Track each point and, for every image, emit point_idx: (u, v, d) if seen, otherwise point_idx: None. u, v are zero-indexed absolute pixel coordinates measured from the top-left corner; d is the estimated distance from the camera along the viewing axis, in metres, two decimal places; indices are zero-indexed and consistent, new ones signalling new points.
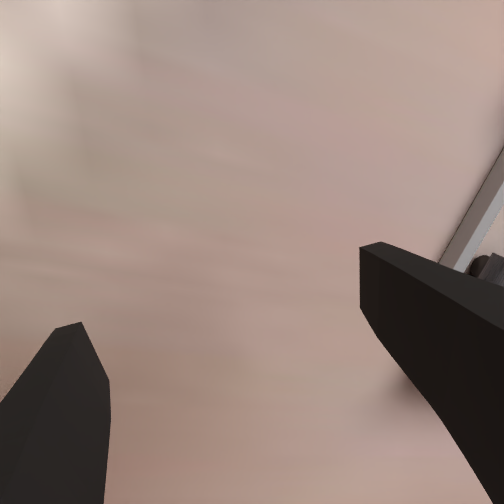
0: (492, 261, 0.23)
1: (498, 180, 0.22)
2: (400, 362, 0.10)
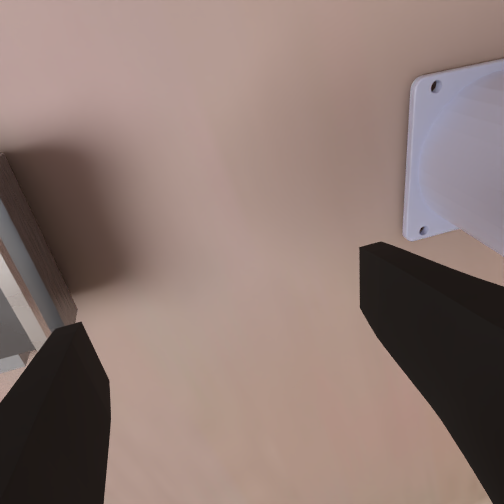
0: None
1: None
2: (400, 362, 0.10)
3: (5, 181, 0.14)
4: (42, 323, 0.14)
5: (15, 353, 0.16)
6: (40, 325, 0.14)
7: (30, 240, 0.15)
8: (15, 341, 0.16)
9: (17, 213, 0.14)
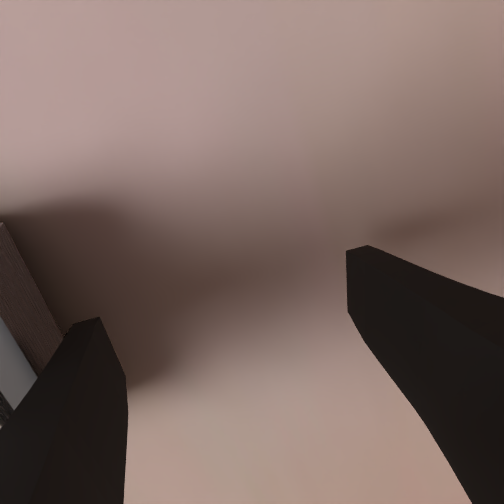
0: None
1: None
2: (386, 367, 0.10)
3: (5, 272, 0.08)
4: None
5: None
6: None
7: (46, 360, 0.09)
8: None
9: (25, 322, 0.09)
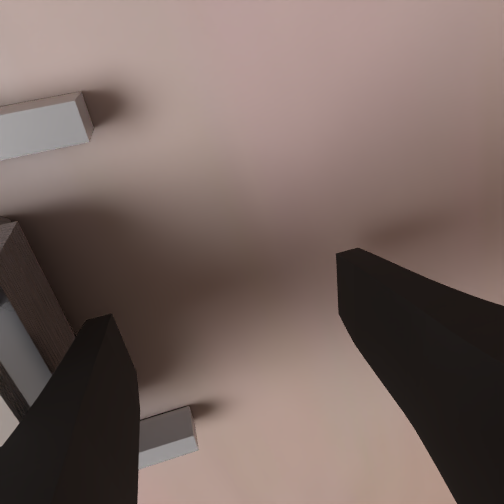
0: None
1: None
2: (376, 370, 0.10)
3: (21, 271, 0.08)
4: None
5: None
6: None
7: (59, 357, 0.09)
8: None
9: (40, 321, 0.09)
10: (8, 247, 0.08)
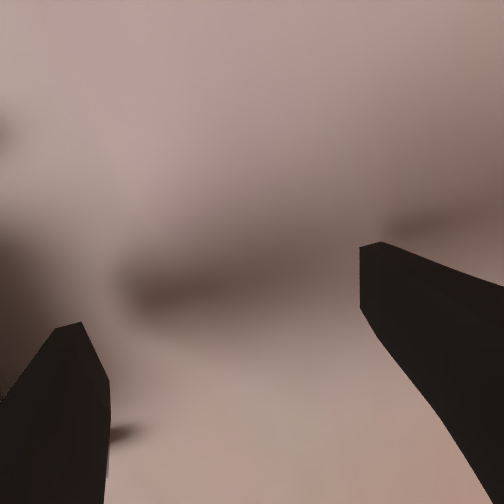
0: None
1: None
2: (400, 363, 0.10)
3: None
4: None
5: None
6: None
7: None
8: None
9: None
10: None
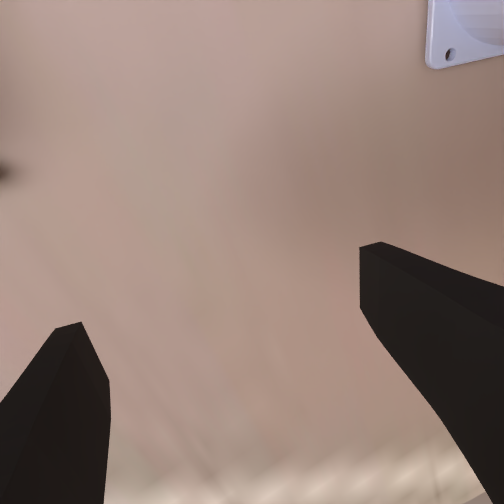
0: None
1: None
2: (400, 362, 0.10)
3: None
4: None
5: None
6: None
7: None
8: None
9: None
10: None
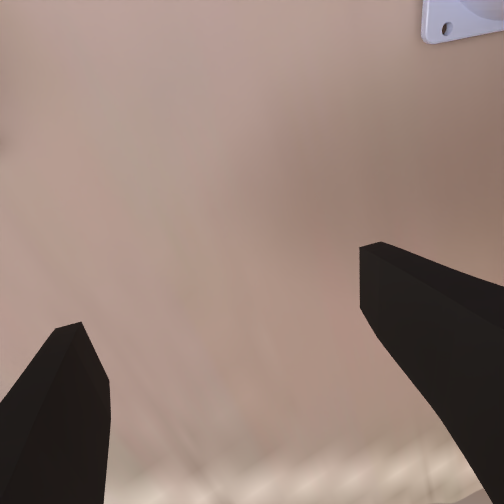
0: None
1: None
2: (400, 363, 0.10)
3: None
4: None
5: None
6: None
7: None
8: None
9: None
10: None
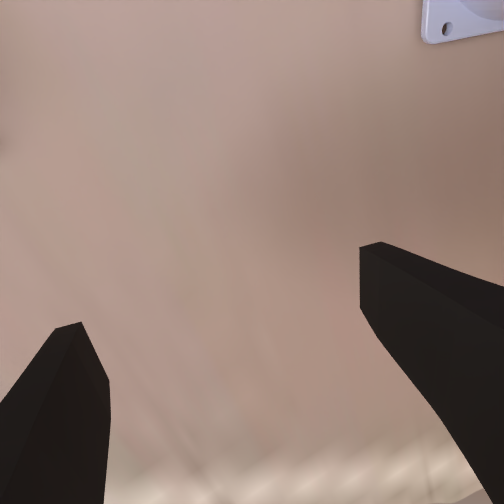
0: None
1: None
2: (400, 363, 0.10)
3: None
4: None
5: None
6: None
7: None
8: None
9: None
10: None
